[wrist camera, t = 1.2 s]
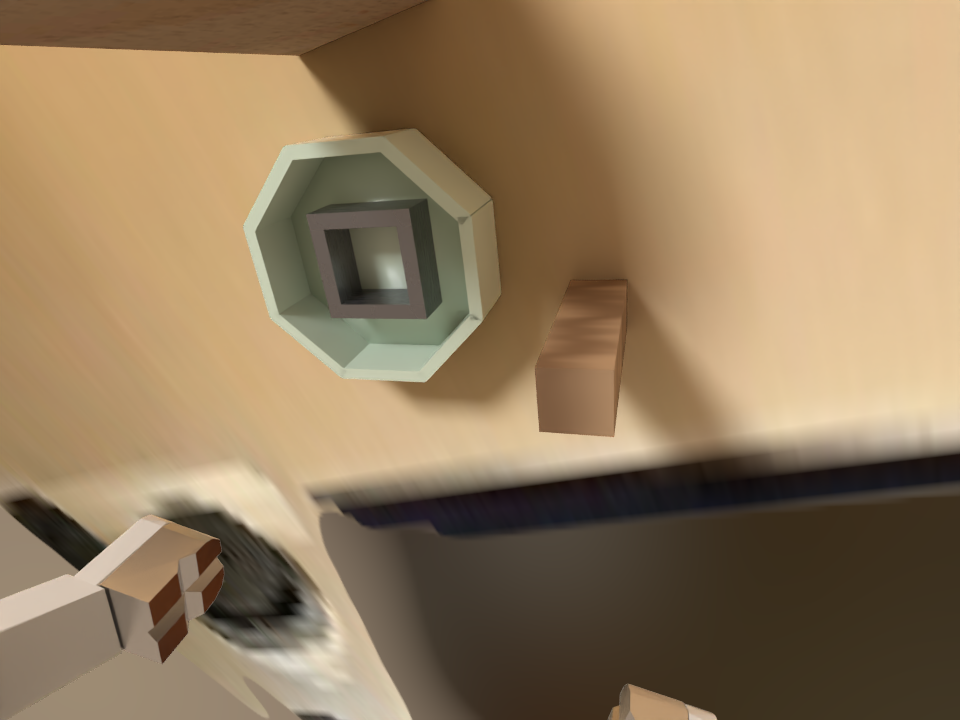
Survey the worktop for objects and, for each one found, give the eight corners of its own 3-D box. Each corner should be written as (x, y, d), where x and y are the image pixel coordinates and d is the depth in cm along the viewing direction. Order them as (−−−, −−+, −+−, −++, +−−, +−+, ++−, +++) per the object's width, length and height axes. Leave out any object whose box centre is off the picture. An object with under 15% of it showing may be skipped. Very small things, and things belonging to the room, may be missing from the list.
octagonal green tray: (485, 120, 32) (461, 128, 28) (507, 353, 39) (490, 385, 35) (267, 143, 36) (220, 152, 33) (320, 347, 43) (287, 375, 39)
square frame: (427, 198, 34) (408, 208, 32) (442, 302, 38) (426, 319, 35) (330, 204, 37) (306, 214, 34) (352, 302, 40) (331, 318, 37)
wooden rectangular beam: (627, 279, 34) (614, 370, 24) (626, 331, 35) (613, 436, 25) (570, 280, 35) (535, 367, 25) (572, 330, 36) (539, 431, 26)
